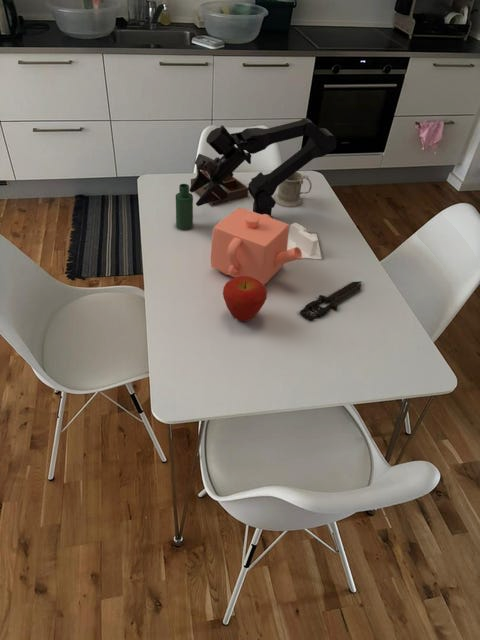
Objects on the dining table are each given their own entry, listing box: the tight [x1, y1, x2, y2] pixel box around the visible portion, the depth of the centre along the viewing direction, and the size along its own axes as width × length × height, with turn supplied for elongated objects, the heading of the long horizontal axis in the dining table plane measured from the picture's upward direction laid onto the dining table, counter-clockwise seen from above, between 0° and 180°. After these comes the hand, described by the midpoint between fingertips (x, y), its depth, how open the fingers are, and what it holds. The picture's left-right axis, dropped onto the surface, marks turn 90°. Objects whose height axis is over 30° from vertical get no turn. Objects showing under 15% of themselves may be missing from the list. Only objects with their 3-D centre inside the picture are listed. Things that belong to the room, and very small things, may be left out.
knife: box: [299, 281, 362, 321], centre depth 142 cm, size 25×6×1 cm, turn 127°
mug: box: [274, 171, 312, 208], centre depth 181 cm, size 14×10×12 cm
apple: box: [222, 276, 268, 322], centre depth 131 cm, size 11×11×12 cm
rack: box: [190, 175, 249, 207], centre depth 186 cm, size 15×15×4 cm
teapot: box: [210, 207, 302, 286], centre depth 144 cm, size 25×23×18 cm
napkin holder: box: [287, 222, 323, 260], centre depth 162 cm, size 15×11×6 cm
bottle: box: [175, 183, 194, 231], centre depth 163 cm, size 5×5×14 cm
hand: (193, 198), depth 162 cm, fingers open, 9 cm apart
